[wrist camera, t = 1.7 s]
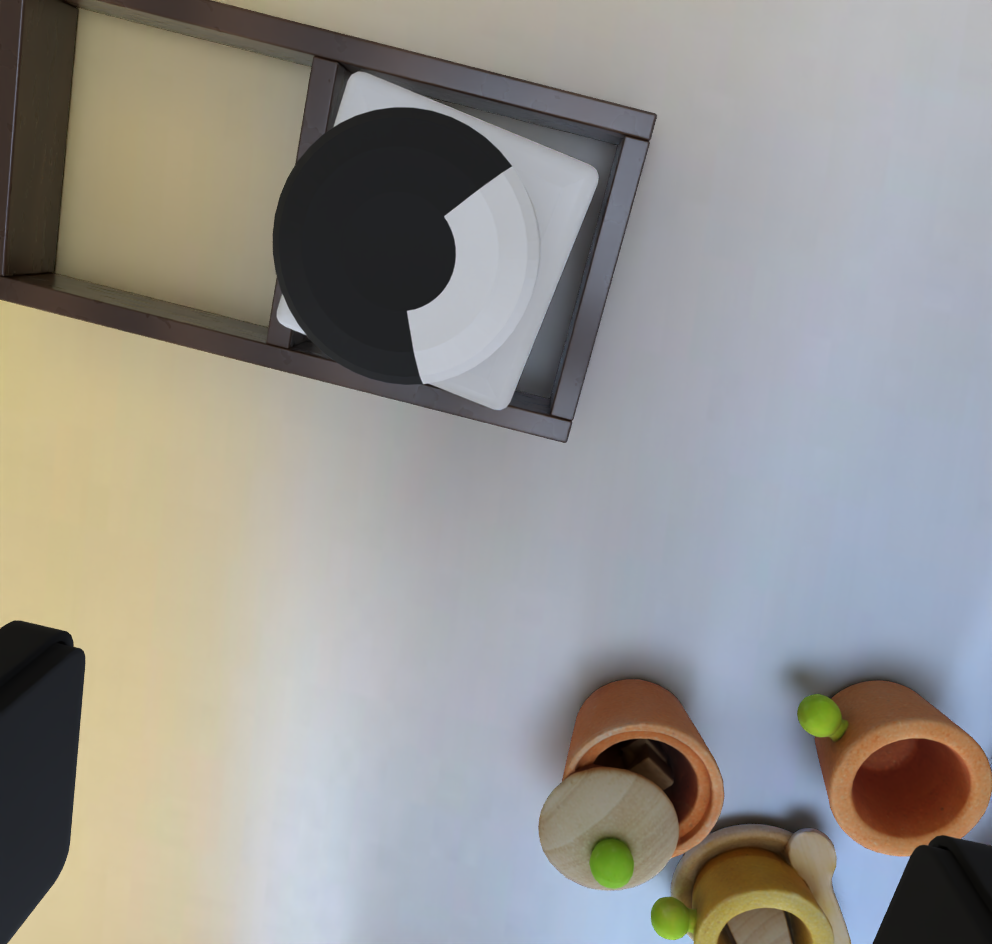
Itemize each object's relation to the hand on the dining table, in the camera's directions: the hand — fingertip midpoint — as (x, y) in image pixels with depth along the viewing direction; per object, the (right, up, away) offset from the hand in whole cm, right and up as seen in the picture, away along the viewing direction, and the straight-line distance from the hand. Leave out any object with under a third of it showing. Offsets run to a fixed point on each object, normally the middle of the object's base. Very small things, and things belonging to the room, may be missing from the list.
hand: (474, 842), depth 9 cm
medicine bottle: (-1, +12, +21) cm, 24 cm away
